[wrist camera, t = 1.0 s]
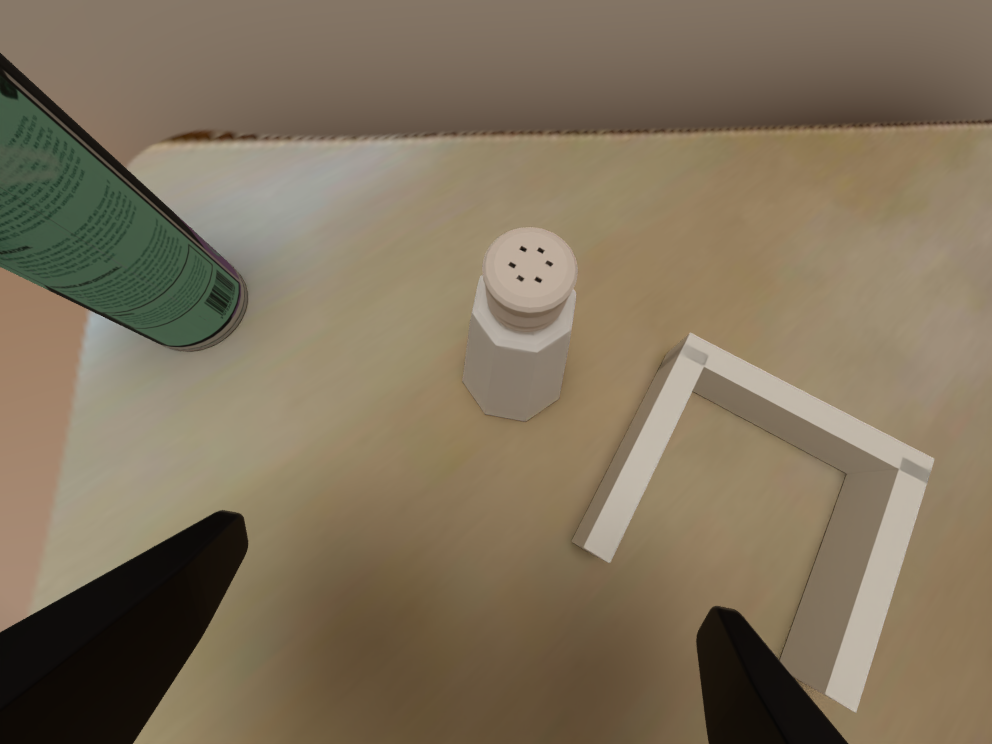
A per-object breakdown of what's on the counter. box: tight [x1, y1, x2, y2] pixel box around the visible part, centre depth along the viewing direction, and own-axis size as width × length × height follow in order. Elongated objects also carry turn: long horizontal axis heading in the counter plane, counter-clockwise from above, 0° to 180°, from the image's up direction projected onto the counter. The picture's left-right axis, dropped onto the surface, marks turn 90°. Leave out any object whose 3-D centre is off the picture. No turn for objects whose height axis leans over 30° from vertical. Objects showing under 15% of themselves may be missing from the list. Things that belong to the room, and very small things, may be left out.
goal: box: [571, 333, 934, 713], centre depth 21 cm, size 11×11×3 cm
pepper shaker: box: [462, 227, 578, 422], centre depth 18 cm, size 5×5×11 cm
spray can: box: [0, 53, 247, 351], centre depth 15 cm, size 6×6×20 cm
